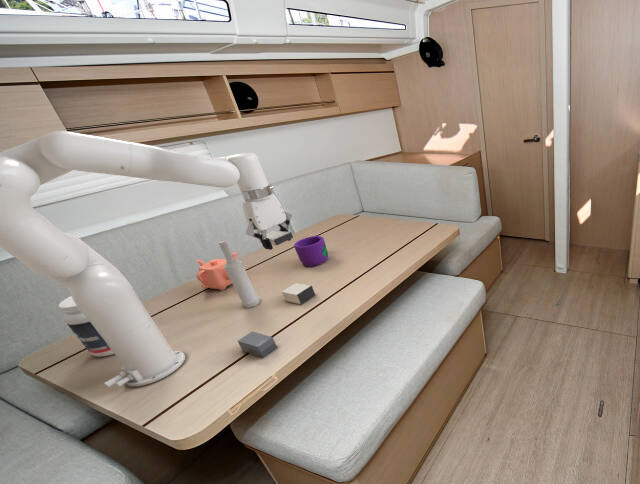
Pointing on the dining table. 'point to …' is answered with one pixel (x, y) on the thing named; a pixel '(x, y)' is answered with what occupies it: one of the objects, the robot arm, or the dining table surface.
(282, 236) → the white book
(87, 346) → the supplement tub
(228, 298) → the dining table surface
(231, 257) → the bottle
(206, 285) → the teapot
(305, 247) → the mug
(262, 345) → the gray rectangular block
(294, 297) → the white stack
